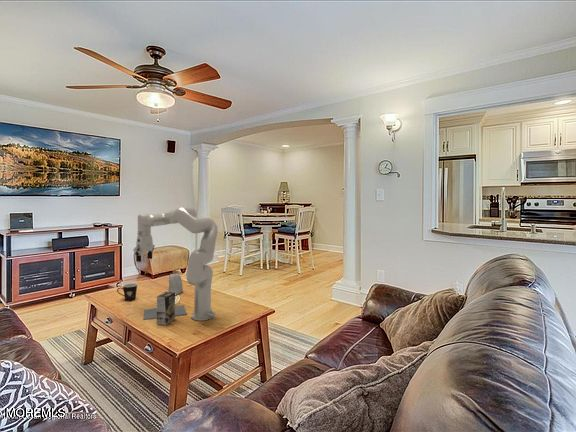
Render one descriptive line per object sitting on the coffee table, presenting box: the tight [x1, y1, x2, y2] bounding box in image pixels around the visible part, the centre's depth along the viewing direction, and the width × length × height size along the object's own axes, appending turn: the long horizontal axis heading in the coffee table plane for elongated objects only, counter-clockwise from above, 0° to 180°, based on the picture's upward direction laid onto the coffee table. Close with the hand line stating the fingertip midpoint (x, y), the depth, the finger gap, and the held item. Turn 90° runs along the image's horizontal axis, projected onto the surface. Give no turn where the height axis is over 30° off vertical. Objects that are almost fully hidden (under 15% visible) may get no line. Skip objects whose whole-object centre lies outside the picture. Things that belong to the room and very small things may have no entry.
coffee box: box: [156, 291, 176, 326], centre depth 179 cm, size 9×6×16 cm
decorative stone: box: [167, 273, 184, 295], centre depth 227 cm, size 11×6×15 cm, turn 154°
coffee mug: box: [116, 283, 138, 302], centre depth 213 cm, size 12×9×10 cm
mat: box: [143, 304, 188, 321], centre depth 193 cm, size 16×24×1 cm, turn 114°
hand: (144, 260), depth 198 cm, fingers open, 9 cm apart
